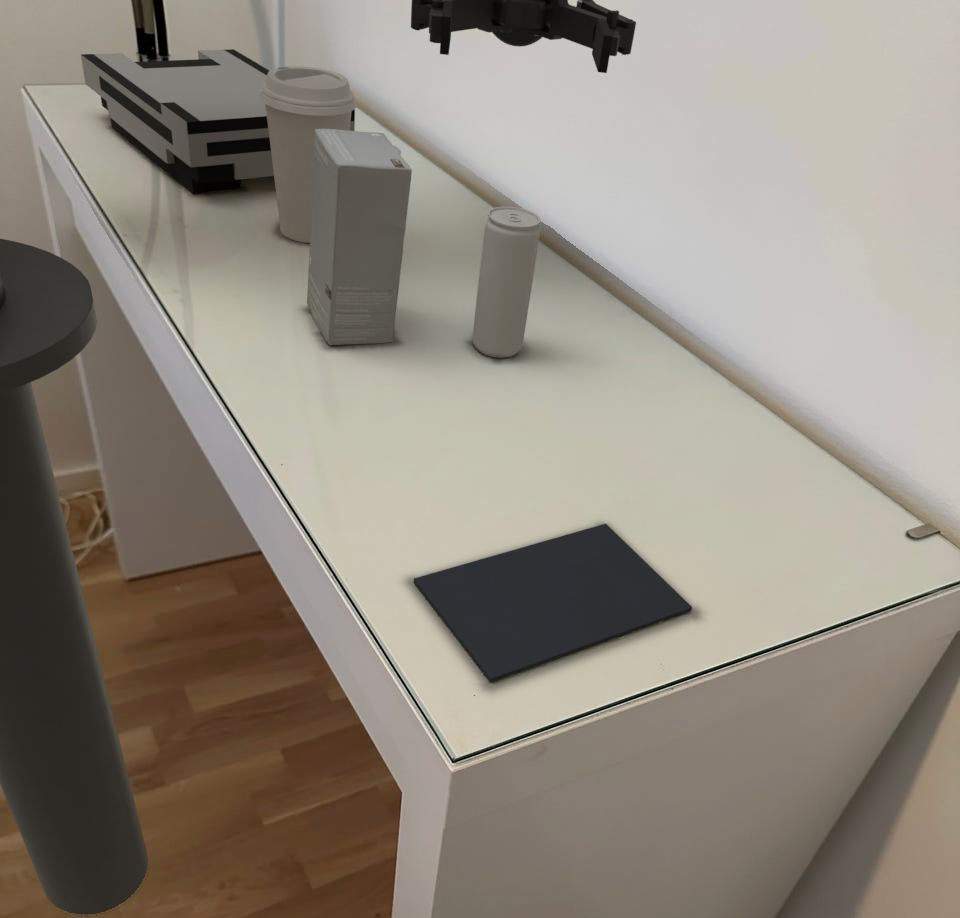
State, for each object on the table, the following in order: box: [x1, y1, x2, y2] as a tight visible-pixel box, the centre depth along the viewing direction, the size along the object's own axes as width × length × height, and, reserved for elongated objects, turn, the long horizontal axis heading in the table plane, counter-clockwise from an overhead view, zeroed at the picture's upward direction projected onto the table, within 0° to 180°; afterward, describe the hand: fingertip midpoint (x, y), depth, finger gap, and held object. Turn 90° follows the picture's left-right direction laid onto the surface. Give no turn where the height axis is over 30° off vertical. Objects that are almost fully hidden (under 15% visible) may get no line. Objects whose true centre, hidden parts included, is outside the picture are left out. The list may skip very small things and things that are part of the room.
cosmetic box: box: [306, 129, 413, 346], centre depth 81 cm, size 8×7×16 cm
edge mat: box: [413, 523, 693, 684], centre depth 61 cm, size 10×16×1 cm, turn 121°
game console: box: [80, 48, 356, 195], centre depth 114 cm, size 21×32×8 cm, turn 37°
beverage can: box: [471, 206, 542, 359], centre depth 82 cm, size 5×5×12 cm
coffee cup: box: [260, 65, 357, 244], centre depth 96 cm, size 10×10×15 cm
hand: (525, 45), depth 77 cm, fingers open, 13 cm apart
